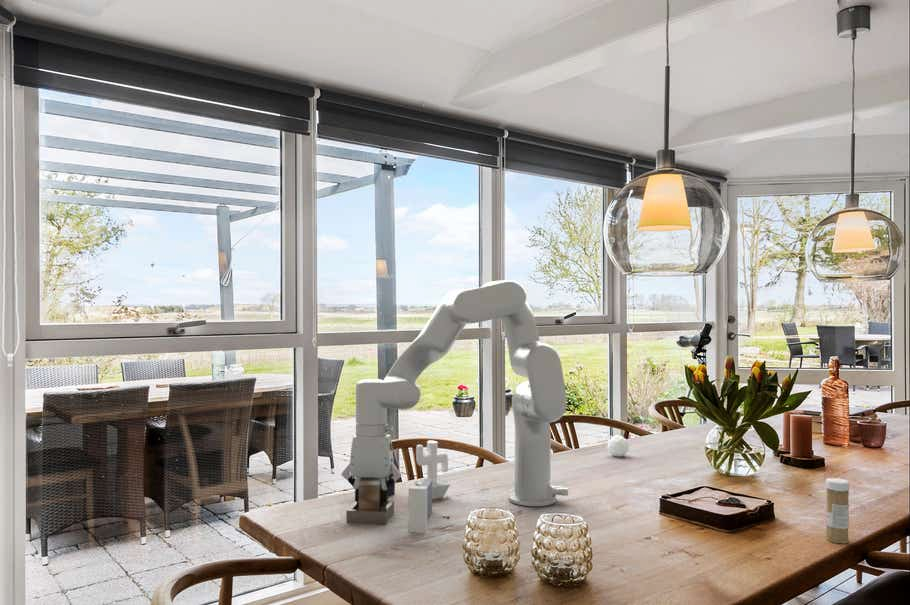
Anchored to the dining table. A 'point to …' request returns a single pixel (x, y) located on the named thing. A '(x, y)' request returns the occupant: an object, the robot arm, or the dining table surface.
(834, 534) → the sprinkles bottle
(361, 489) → the stop block
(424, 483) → the grey upright block
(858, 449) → the dining table surface
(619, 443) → the ornament
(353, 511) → the tray
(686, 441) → the dining table surface
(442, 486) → the figurine
